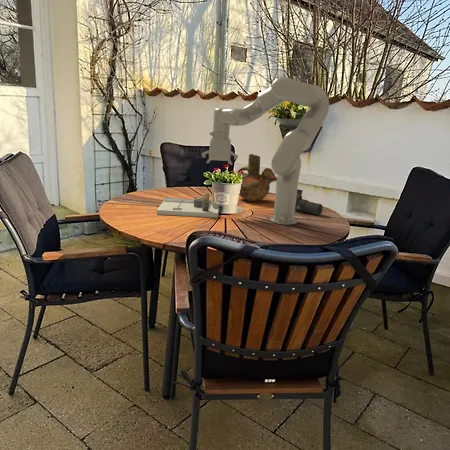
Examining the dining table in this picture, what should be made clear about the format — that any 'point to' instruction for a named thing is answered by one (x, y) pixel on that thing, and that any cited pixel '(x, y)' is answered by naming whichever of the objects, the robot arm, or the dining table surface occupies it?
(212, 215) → the wall panel
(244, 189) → the ceramic vessel
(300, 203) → the laser sight
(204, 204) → the tan cylinder
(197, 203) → the block
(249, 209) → the dining table surface
